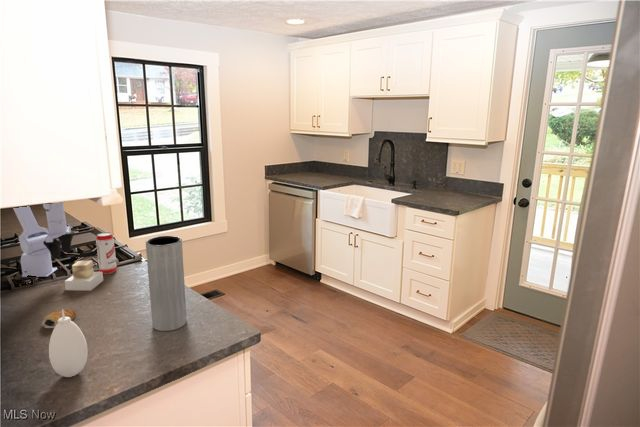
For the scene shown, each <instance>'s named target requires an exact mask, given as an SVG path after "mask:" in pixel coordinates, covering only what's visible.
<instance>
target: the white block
mask: <svg viewBox="0 0 640 427" xmlns="http://www.w3.org/2000/svg"><path fill="white" fill-rule="evenodd" d="M103 275H104V274H103V273H102V272H100V271H94V273H93V274H92V275H91V276H90V277H89V278H73V275H71V276H70V277H68V278H67V279H65V280H64V286H65V291H93V289H95V288H96V287H97V286H99V284H102V282H104V276H103Z"/></svg>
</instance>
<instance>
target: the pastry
mask: <svg viewBox="0 0 640 427" xmlns="http://www.w3.org/2000/svg"><path fill="white" fill-rule="evenodd" d="M63 310H64V314H65V317H70V318H71V321H73V320H75V318H76V311H75V310H74V309H72V308H71V309H70V308H64V309H63ZM60 318H62V309H61V310H58V311H53V312H51V313H50V314H46V316H45V317H44V318H43V320H42V322H41V323H40V324H41V326H42V327H43V328H45V329H54V328H55V326H56V325H57V324H58V319H60Z"/></svg>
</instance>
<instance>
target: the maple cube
mask: <svg viewBox="0 0 640 427" xmlns="http://www.w3.org/2000/svg"><path fill="white" fill-rule="evenodd" d="M71 270H72V276H73V278H89V277H90V276H91V275H92V274H93V273H94V272H95V271H94V262H93V260H78V261H76V262H74V264H72V265H71Z"/></svg>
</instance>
